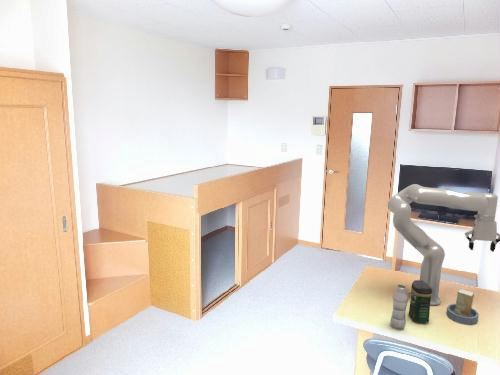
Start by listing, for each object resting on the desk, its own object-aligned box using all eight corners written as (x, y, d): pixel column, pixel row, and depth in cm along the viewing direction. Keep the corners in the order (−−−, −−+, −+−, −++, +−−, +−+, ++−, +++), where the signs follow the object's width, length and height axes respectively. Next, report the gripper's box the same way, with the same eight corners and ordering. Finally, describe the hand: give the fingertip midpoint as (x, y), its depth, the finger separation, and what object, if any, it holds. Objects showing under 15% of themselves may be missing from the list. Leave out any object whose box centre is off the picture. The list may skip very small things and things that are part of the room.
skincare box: (453, 314, 184) (456, 291, 181) (456, 311, 187) (459, 288, 184) (468, 319, 179) (471, 295, 177) (471, 316, 183) (474, 292, 180)
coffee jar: (431, 324, 177) (435, 287, 173) (414, 324, 177) (418, 287, 173) (422, 313, 186) (426, 278, 182) (406, 313, 186) (409, 278, 182)
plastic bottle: (387, 323, 178) (391, 283, 174) (401, 322, 178) (405, 283, 174) (393, 330, 172) (397, 290, 167) (408, 330, 172) (412, 289, 168)
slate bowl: (451, 323, 178) (452, 316, 178) (443, 309, 191) (444, 302, 190) (481, 326, 176) (482, 319, 175) (471, 311, 188) (472, 305, 188)
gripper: (469, 218, 188) (465, 251, 191) (508, 221, 185) (503, 254, 188) (464, 214, 195) (460, 246, 199) (501, 216, 192) (496, 248, 195)
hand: (481, 250), depth 193 cm, fingers open, 9 cm apart
